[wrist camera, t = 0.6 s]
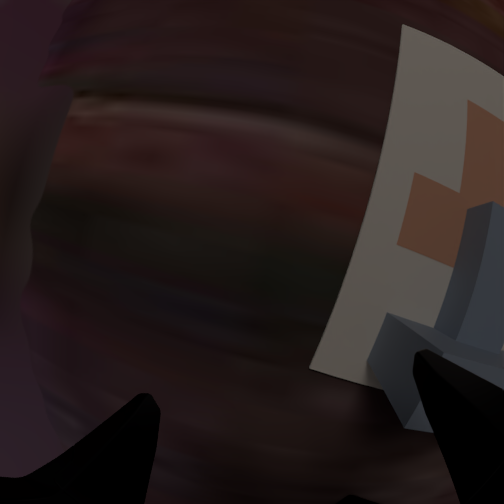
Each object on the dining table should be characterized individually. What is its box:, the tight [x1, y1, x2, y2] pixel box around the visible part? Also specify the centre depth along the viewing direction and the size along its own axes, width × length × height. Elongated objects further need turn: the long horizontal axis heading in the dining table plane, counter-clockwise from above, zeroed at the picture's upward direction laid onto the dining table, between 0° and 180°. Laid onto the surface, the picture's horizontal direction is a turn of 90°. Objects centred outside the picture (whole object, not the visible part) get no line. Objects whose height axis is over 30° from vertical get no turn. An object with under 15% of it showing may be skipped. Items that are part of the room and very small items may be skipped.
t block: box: [367, 201, 504, 433], centre depth 14 cm, size 14×14×10 cm
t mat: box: [309, 24, 504, 390], centre depth 18 cm, size 34×22×1 cm, turn 161°
